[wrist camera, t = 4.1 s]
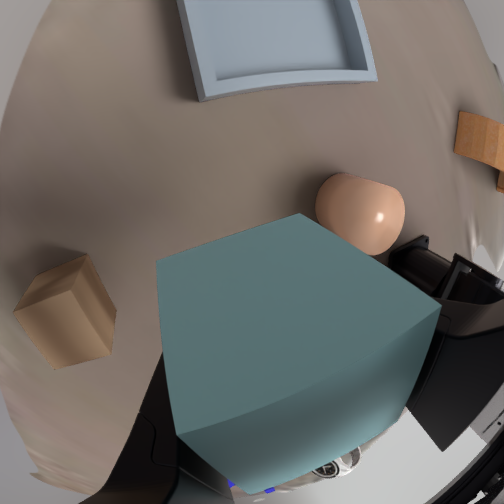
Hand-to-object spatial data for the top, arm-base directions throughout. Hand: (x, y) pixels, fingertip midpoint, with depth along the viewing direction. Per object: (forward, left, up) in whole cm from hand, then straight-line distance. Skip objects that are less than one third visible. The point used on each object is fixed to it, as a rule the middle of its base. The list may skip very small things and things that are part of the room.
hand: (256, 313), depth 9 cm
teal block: (0, 0, -1) cm, 1 cm away
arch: (-40, +2, -11) cm, 41 cm away
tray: (-8, -14, -11) cm, 19 cm away
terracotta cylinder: (-11, +2, -11) cm, 16 cm away
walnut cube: (+11, +2, -11) cm, 16 cm away
